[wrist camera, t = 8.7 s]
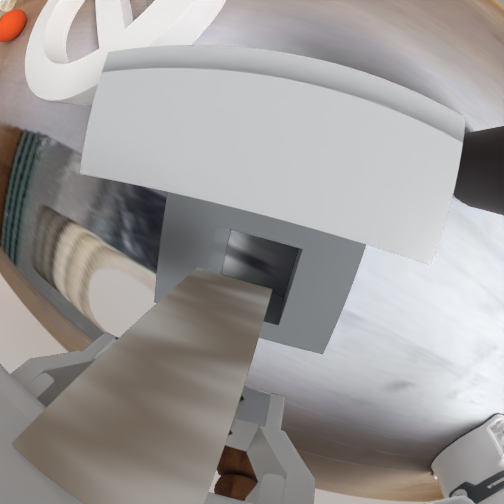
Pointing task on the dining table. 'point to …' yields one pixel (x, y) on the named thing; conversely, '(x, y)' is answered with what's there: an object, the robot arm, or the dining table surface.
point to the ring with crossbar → (105, 41)
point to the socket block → (276, 166)
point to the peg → (155, 399)
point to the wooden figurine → (235, 474)
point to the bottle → (482, 170)
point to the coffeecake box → (6, 6)
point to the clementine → (11, 24)
